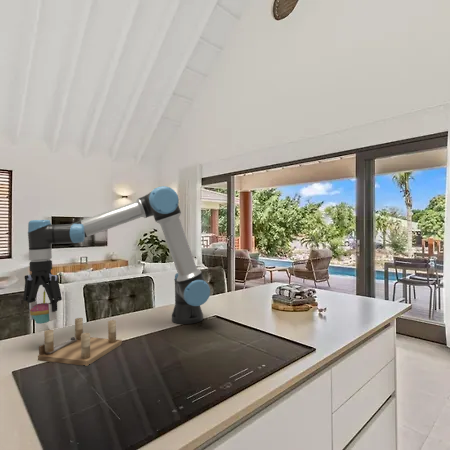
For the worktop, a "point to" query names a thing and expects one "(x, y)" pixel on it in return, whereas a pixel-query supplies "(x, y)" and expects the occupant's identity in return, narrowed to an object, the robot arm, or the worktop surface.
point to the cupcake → (41, 311)
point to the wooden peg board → (83, 347)
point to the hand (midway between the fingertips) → (43, 319)
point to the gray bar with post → (50, 342)
